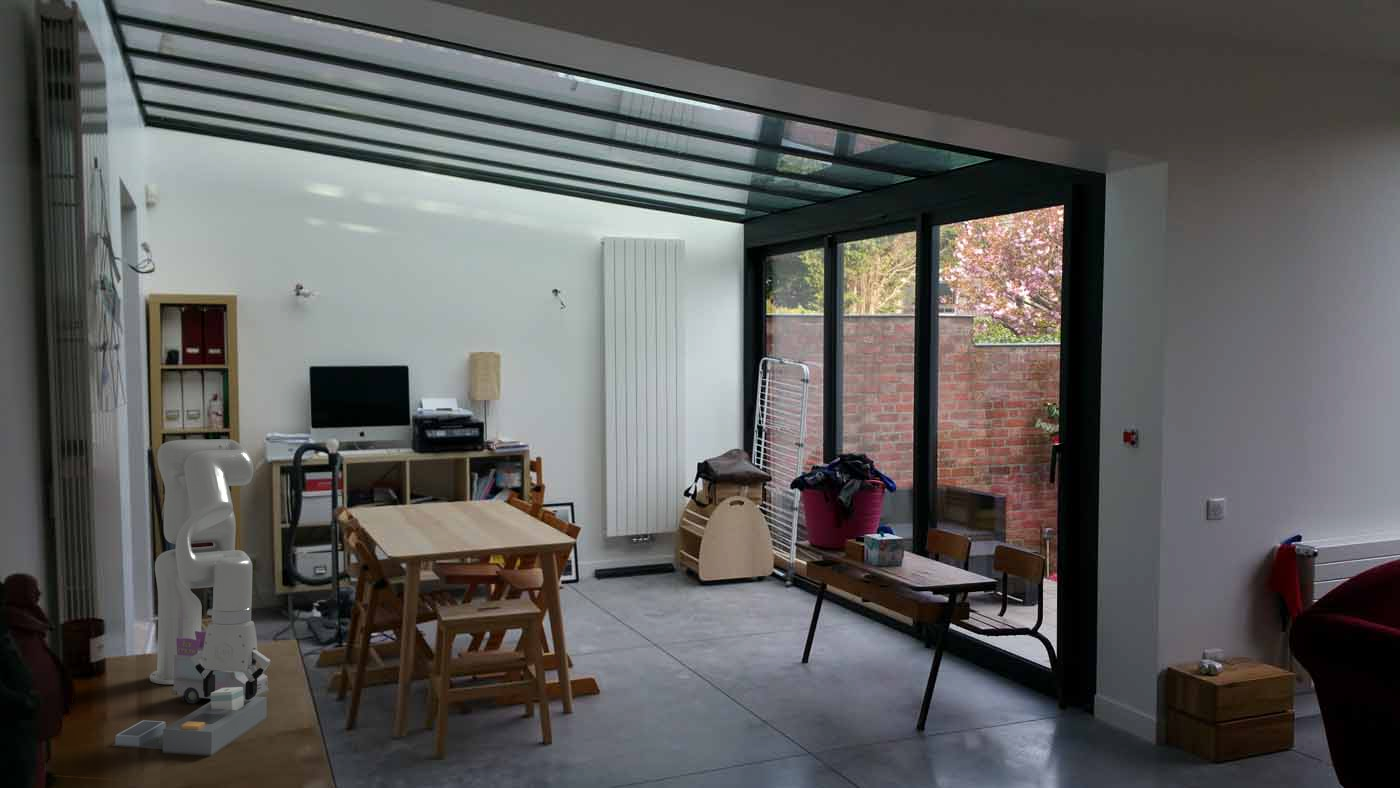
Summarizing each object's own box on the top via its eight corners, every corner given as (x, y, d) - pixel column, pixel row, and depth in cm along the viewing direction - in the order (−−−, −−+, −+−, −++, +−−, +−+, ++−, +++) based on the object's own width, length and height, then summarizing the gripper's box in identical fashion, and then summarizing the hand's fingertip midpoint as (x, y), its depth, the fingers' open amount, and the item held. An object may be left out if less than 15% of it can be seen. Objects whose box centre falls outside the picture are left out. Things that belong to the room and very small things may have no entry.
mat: (141, 729, 217) (141, 728, 217) (196, 733, 216) (196, 731, 216) (111, 746, 207) (111, 745, 207) (168, 750, 206) (168, 748, 206)
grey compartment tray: (222, 717, 226) (222, 691, 226) (266, 719, 226) (266, 694, 226) (162, 754, 204) (163, 725, 204) (211, 757, 204) (211, 728, 204)
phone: (142, 729, 217) (142, 720, 217) (165, 730, 216) (165, 721, 216) (115, 744, 208) (115, 735, 208) (139, 746, 207) (139, 736, 207)
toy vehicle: (245, 712, 230) (247, 645, 230) (169, 703, 234) (170, 638, 234) (270, 699, 239) (272, 635, 239) (196, 691, 243) (197, 628, 243)
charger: (223, 720, 222) (222, 687, 223) (244, 719, 222) (243, 686, 223) (211, 726, 218) (210, 692, 218) (232, 725, 217) (231, 691, 218)
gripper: (182, 617, 216) (180, 699, 217) (262, 623, 215) (260, 705, 216) (202, 609, 224) (200, 688, 225) (279, 614, 223) (277, 693, 223)
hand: (229, 696), depth 220 cm, fingers open, 8 cm apart
